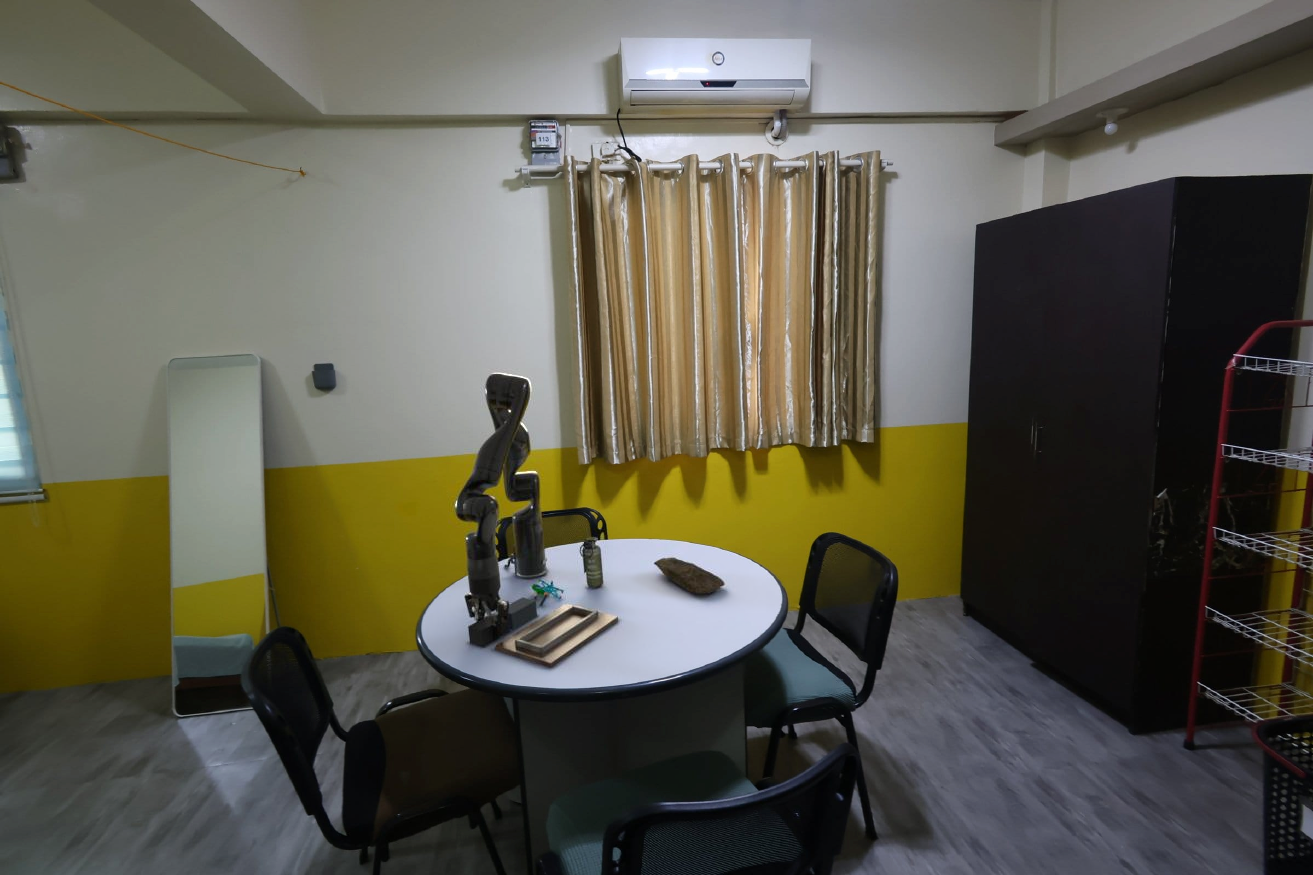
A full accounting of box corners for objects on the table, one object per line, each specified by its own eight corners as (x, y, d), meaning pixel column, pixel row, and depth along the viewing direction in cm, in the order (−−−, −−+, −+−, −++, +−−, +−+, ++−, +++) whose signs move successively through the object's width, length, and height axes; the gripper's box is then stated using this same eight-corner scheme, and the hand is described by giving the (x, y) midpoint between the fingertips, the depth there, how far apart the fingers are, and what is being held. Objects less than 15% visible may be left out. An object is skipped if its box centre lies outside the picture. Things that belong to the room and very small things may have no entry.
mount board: (495, 649, 148) (494, 639, 148) (565, 607, 170) (564, 598, 169) (551, 667, 139) (550, 656, 138) (618, 620, 160) (617, 611, 160)
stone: (702, 600, 170) (701, 580, 169) (649, 573, 191) (648, 555, 191) (731, 590, 175) (731, 571, 174) (677, 564, 197) (676, 547, 196)
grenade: (605, 582, 186) (601, 535, 183) (601, 590, 180) (598, 541, 178) (585, 583, 187) (581, 535, 184) (581, 590, 181) (577, 542, 179)
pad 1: (469, 643, 152) (467, 626, 152) (496, 627, 160) (495, 611, 159) (483, 647, 150) (481, 630, 149) (510, 631, 157) (508, 615, 157)
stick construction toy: (570, 591, 175) (552, 575, 172) (558, 612, 170) (540, 596, 167) (544, 593, 183) (527, 578, 179) (533, 614, 178) (514, 598, 175)
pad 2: (499, 626, 161) (498, 610, 160) (524, 612, 168) (522, 597, 168) (513, 630, 158) (511, 613, 157) (537, 616, 166) (536, 600, 165)
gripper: (515, 571, 151) (521, 635, 154) (475, 562, 159) (482, 624, 162) (492, 582, 145) (499, 649, 148) (452, 572, 153) (459, 636, 156)
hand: (490, 635), depth 155 cm, fingers closed on pad 1, 5 cm apart
